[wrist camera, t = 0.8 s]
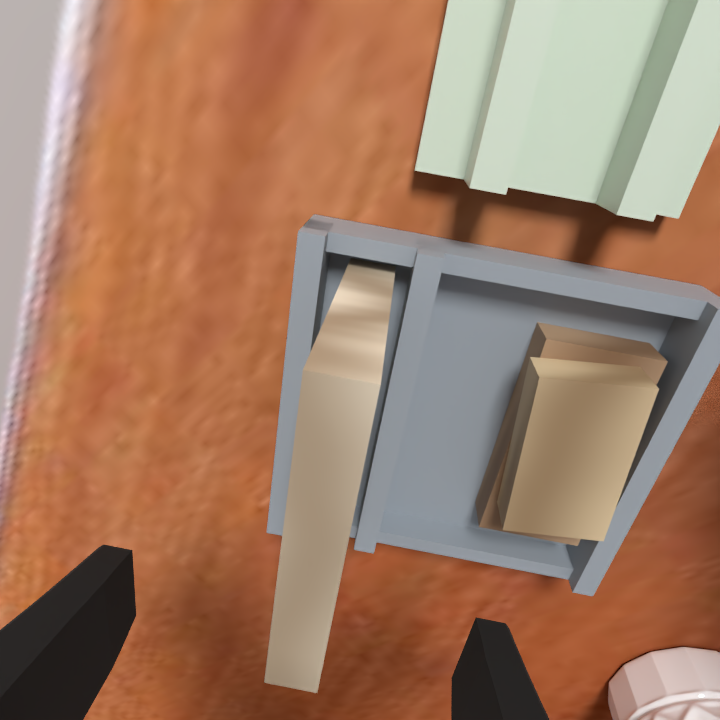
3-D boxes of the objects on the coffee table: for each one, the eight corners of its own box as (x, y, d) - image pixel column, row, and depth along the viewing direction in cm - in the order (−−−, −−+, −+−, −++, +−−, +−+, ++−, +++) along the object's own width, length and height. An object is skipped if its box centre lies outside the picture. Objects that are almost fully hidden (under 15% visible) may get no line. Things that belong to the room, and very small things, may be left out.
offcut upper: (640, 366, 16) (658, 389, 15) (591, 512, 19) (603, 541, 18) (530, 356, 16) (539, 377, 15) (496, 501, 19) (502, 530, 18)
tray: (700, 285, 17) (746, 314, 15) (574, 545, 22) (592, 596, 20) (314, 214, 17) (298, 231, 15) (282, 488, 23) (266, 532, 20)
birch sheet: (395, 266, 17) (380, 384, 10) (350, 496, 21) (317, 693, 14) (351, 257, 17) (303, 370, 10) (315, 490, 21) (264, 682, 14)
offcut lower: (649, 342, 17) (667, 361, 16) (568, 519, 21) (577, 546, 20) (537, 322, 17) (546, 339, 16) (475, 501, 21) (478, 527, 20)
